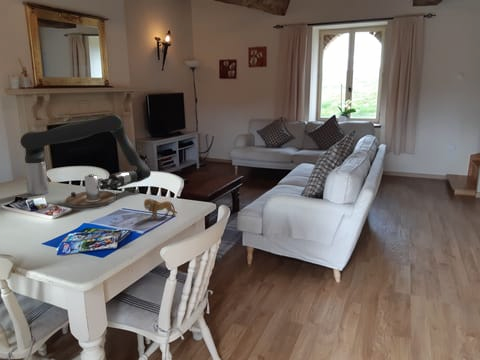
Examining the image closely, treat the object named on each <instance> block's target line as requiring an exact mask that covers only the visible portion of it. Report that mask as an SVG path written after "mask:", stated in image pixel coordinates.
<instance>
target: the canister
mask: <svg viewBox="0 0 480 360" xmlns="http://www.w3.org/2000/svg"><path fill="white" fill-rule="evenodd" d="M98 179H99V175H97V174H93V173H92V174H91V173H90V174H88V175H85V176H84V187H85V192H86V198H87V199H86V202H98V201H100V200H101V198H100V194H99V191H100V186H99V184H98Z"/></svg>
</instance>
